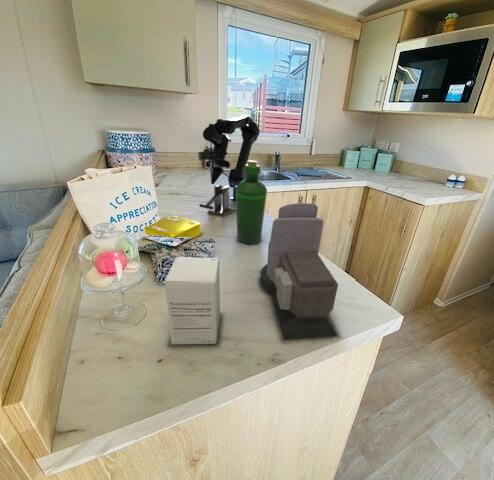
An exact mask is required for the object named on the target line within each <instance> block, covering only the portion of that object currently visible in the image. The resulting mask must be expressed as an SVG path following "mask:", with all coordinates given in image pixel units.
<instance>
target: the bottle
mask: <svg viewBox="0 0 494 480" xmlns="http://www.w3.org/2000/svg"><path fill="white" fill-rule="evenodd" d="M258 162H259V161H258V160H254V159H253V160H251V159H248V161H247V164H246V165H245V168H244V172H245V174H246V180H243V181H242V182H240V183H239V184H238V185H237V187H236V188H235V189H236V200H235V212H236V237H237V240H238V241H239V242H241V243H243V244H248V245H251V244H256V243H259V242H260V241H262V240H261V239H262V235H263V234H262V233H263V225H264V220H265V219H264V217H265V210H266V202H267V194H268V189H267V186H266V185H265V184H264V183H262V182H261V181H260V180H259V174H261V166H260V165H259V164H258Z"/></svg>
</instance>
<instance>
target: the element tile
mask: <svg viewBox="0 0 494 480" xmlns="http://www.w3.org/2000/svg"><path fill="white" fill-rule="evenodd" d="M159 219H160V220H159ZM159 219H158V220H159V221H158V222H156V223H154V224H152V225H150V226H148V227H145V228H144V229H145V232H146V234H148V235H163V236H168V237H192V238H193V239H195V238H196V237H198V236H200V235H201V234H202V230H201V229H202V228H201V227H202V225H201V222H200V221H196V220H191V219H189V218H185V217H181V216H177V215H173V214H171V215H168V216H165V217H162V218H159Z"/></svg>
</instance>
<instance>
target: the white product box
mask: <svg viewBox="0 0 494 480" xmlns="http://www.w3.org/2000/svg"><path fill="white" fill-rule="evenodd" d="M220 285H221V283H220V258H219V257H190V256H176V257H175V258H174V261H173V262H172V265H171V267H170V269H169V271H168V273H167V275H166V277H165V279H164V288H165V297H166V306H167V316H168V325H169V333H170V343H171V345H216V344H217V343H218V333H219V325H220V317H221V298H220V297H221V294H220V291H221V290H220Z"/></svg>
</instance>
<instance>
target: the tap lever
mask: <svg viewBox="0 0 494 480" xmlns="http://www.w3.org/2000/svg"><path fill="white" fill-rule="evenodd" d="M223 187H225V186H222V185H221V186H220V187H219V188H218V192H217V194H216V195H215V196H214V195H213V196H212V197H211V199H210V200H209V201H207V203H206V204H203V203H200V204H199V205H198V206H199V208H204V209H207V210H211V209H213V208H214V206H211V205H212V204H213V203H214V201H215V199H216V198H217V197H218V196H219V195H220V194H221V195H222V188H223Z"/></svg>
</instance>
